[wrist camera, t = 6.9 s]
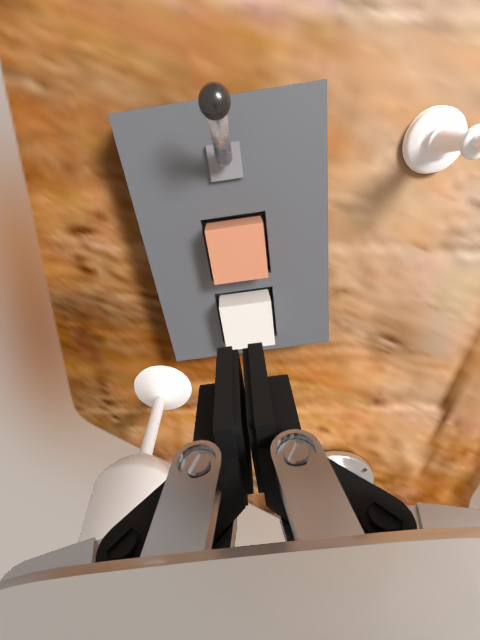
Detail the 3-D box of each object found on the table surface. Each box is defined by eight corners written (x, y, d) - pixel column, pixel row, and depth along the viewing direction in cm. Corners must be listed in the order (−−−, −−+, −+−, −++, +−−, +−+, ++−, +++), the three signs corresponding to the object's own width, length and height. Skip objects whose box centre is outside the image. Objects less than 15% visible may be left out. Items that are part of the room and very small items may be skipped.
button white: (272, 330, 32) (275, 344, 30) (226, 336, 32) (226, 350, 30) (267, 288, 30) (270, 300, 28) (219, 295, 30) (218, 307, 28)
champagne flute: (202, 381, 39) (170, 672, 18) (174, 417, 41) (118, 708, 20) (149, 355, 37) (43, 648, 16) (124, 395, 39) (4, 691, 18)
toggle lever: (238, 171, 24) (231, 100, 17) (213, 175, 24) (197, 105, 17) (235, 149, 24) (227, 70, 18) (211, 152, 24) (193, 76, 18)
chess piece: (391, 164, 28) (464, 177, 19) (420, 96, 26) (518, 77, 17) (442, 180, 29) (535, 200, 20) (475, 116, 27) (596, 106, 18)
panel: (320, 324, 35) (329, 344, 32) (181, 342, 36) (176, 363, 33) (315, 85, 25) (328, 78, 22) (122, 116, 26) (105, 113, 23)
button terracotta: (265, 266, 29) (268, 277, 27) (215, 273, 29) (214, 284, 27) (260, 215, 27) (263, 222, 25) (206, 223, 27) (204, 230, 25)
